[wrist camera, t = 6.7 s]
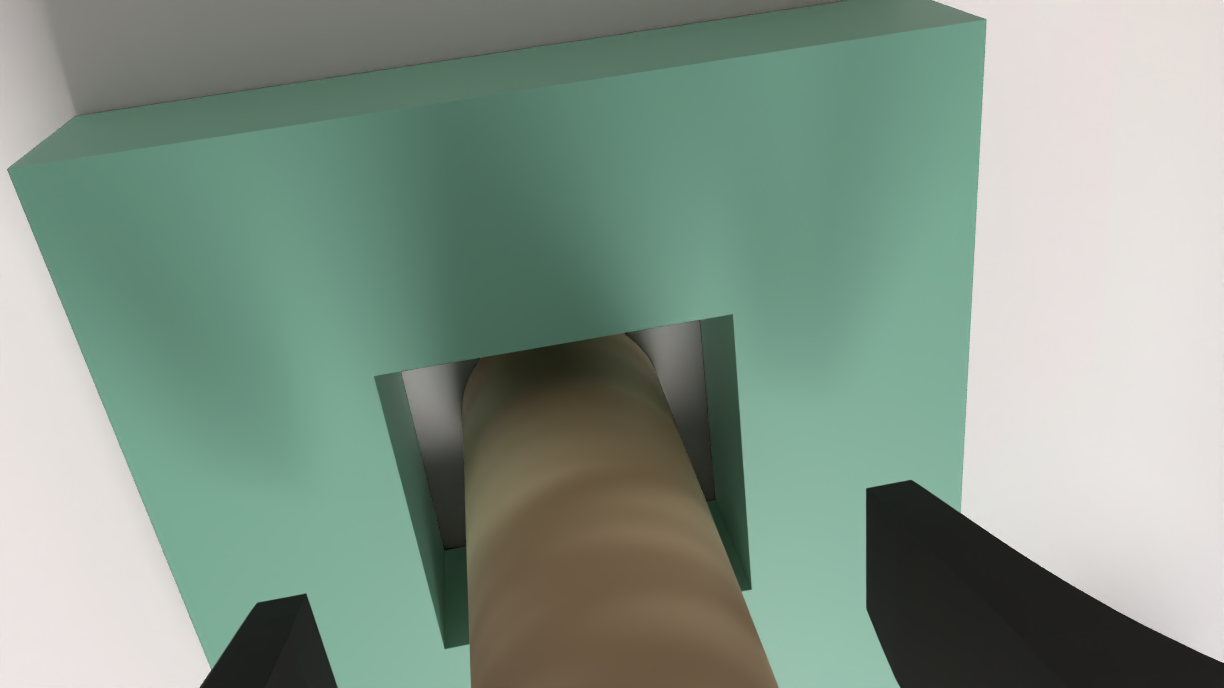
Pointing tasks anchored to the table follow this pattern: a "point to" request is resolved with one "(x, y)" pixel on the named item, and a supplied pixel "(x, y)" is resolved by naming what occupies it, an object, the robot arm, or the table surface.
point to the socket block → (531, 303)
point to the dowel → (593, 531)
